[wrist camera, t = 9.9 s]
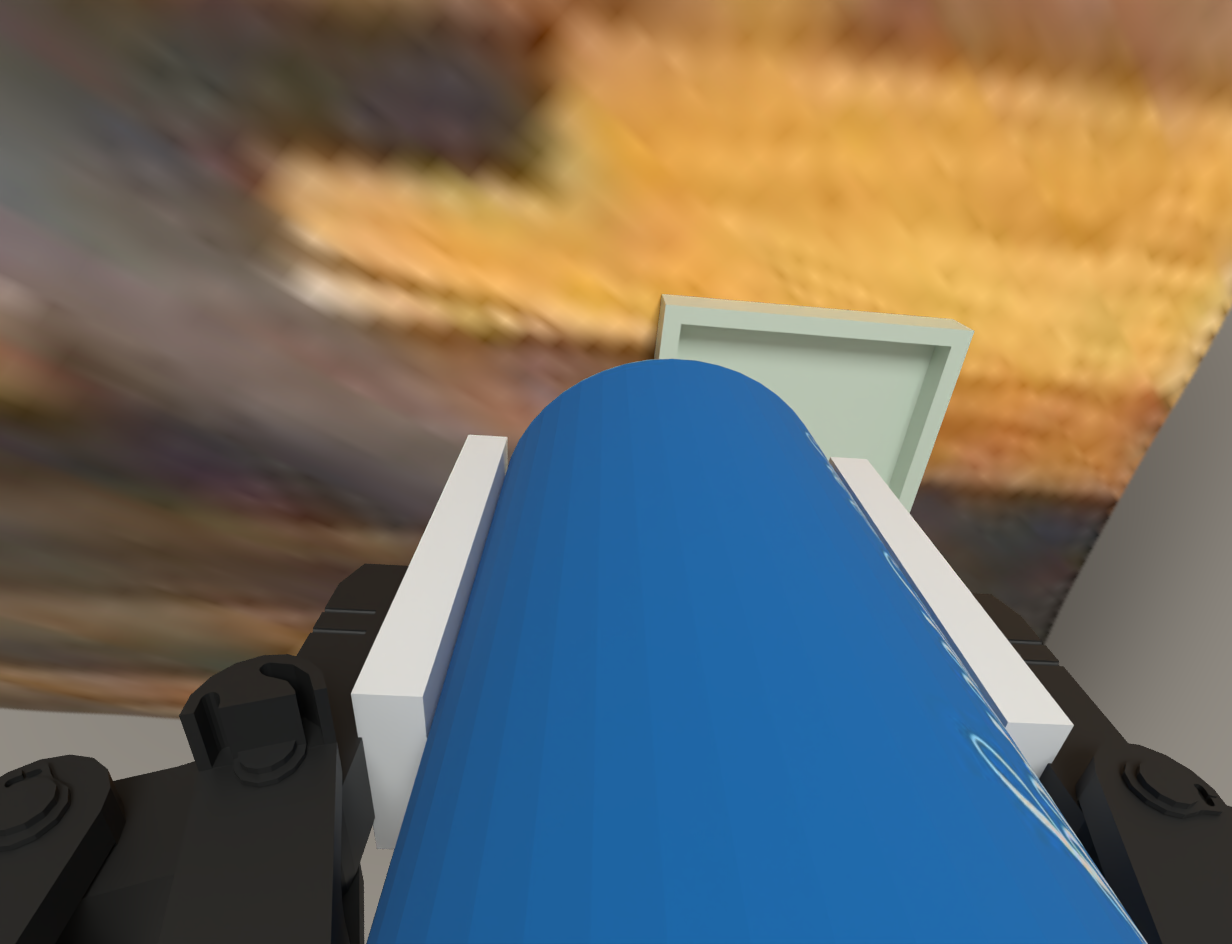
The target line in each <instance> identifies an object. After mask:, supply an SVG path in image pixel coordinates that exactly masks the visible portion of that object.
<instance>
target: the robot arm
mask: <svg viewBox="0 0 1232 944" xmlns="http://www.w3.org/2000/svg"><path fill="white" fill-rule="evenodd" d="M829 463H830V464H831V466H832V467H833V469H834V470H835V472H836V473H837V475H838V476H839V478H840V479H841V481H842V482H843V484H844V485H845V487H846V488H847V490H848V491H849V493H850V494H851V496H852V497H853V499H854V500H855V502H856V503H857V505H858V506H859V508H860V509H861V511H862V512H863V514H864V515H865V517H866V518H867V520H868V522H869V523H870V525H871V526H872V528H873V529H874V531H875V532H876V534H877V535H878V537H879V538H880V540H881V541H882V543H883V544H884V546H885V547H886V549H887V550H888V552H889V553H890V555H891V556H892V558H893V559H894V561H895V562H896V564H897V565H898V567H899V568H900V570H901V571H902V573H903V574H904V576H905V577H906V579H907V580H908V582H909V584H910V585H911V587H912V588H913V590H914V591H915V593H916V594H917V596H918V597H919V599H920V600H921V602H922V603H923V605H924V606H925V608H926V609H927V611H928V612H929V614H930V615H931V617H932V618H933V620H934V621H935V623H936V624H937V626H938V627H939V629H940V630H941V632H942V633H943V635H944V636H945V638H946V639H947V641H948V642H949V644H950V646H951V647H952V649H953V650H954V652H955V653H956V655H957V656H958V658H959V659H960V661H961V662H962V664H963V665H964V667H965V668H966V670H967V671H968V673H969V674H970V676H971V677H972V679H973V680H974V682H975V683H976V685H977V686H978V688H979V689H980V691H981V692H982V694H983V695H984V697H985V698H986V700H987V701H988V703H989V704H990V706H991V708H992V709H993V711H994V712H995V714H996V715H997V717H998V718H999V720H1000V721H1001V723H1002V724H1003V726H1004V727H1005V729H1006V730H1007V732H1008V733H1009V735H1010V736H1011V738H1012V739H1013V741H1014V742H1015V744H1016V745H1017V747H1018V748H1019V750H1020V751H1021V753H1022V754H1023V756H1024V757H1025V759H1026V760H1027V762H1028V763H1029V765H1030V766H1031V768H1032V770H1033V771H1034V773H1035V774H1036V776H1037V777H1038V779H1039V780H1040V782H1041V783H1042V785H1043V786H1044V788H1045V789H1046V791H1047V792H1048V794H1049V795H1050V797H1051V798H1052V800H1053V801H1054V803H1055V804H1056V806H1057V807H1058V809H1059V810H1060V812H1061V813H1062V815H1063V816H1064V818H1065V819H1066V821H1067V822H1068V824H1069V825H1070V827H1071V828H1072V830H1073V832H1074V833H1075V835H1076V836H1077V838H1078V839H1079V841H1080V842H1081V844H1082V845H1083V847H1084V848H1085V850H1086V851H1087V853H1088V854H1089V856H1090V857H1091V859H1092V860H1093V862H1094V863H1095V865H1096V866H1097V868H1098V869H1099V871H1100V872H1101V874H1102V875H1103V877H1104V878H1105V880H1106V881H1107V883H1108V884H1109V886H1110V887H1111V889H1112V890H1113V892H1114V894H1115V895H1116V897H1117V898H1118V900H1119V901H1120V903H1121V904H1122V906H1123V907H1124V909H1125V910H1126V912H1127V913H1128V915H1129V916H1130V918H1131V919H1132V921H1133V922H1134V924H1135V925H1136V927H1137V928H1138V930H1139V931H1140V933H1141V934H1142V936H1143V937H1144V939H1145V940H1146V942H1147V943H1148V944H1232V807H1230V806H1227V805H1226V804H1225V803H1224V802H1223V800H1222V799H1221V798H1220V796H1219V795H1218V794H1217V793H1216V791H1215V790H1214V789H1213V788H1212V787H1210V786H1209V785H1208V784H1207V783H1206V782H1205V781H1203V780H1202V779H1201V778H1200V777H1198V776H1197V775H1196V774H1195V773H1194V772H1193V771H1191V770H1190V769H1188V768H1187V767H1185V766H1183V765H1181V764H1180V763H1178V762H1176V761H1175V760H1173V759H1171V758H1170V757H1168V756H1166V755H1164V754H1162V753H1159V752H1156V751H1154V750H1151V749H1149V748H1146V747H1143V746H1140V745H1136V744H1129V743H1127V741H1126V740H1125V739H1124V738H1123V737H1122V735H1121V734H1120V733H1119V732H1118V731H1117V730H1116V729H1115V727H1114V726H1113V725H1112V724H1111V722H1110V721H1109V720H1108V719H1107V718H1106V716H1104V714H1103V713H1102V712H1101V711H1100V709H1099V708H1098V707H1097V706H1096V705H1095V704H1094V702H1093V701H1092V700H1091V699H1090V698H1089V696H1088V695H1087V694H1086V693H1085V692H1084V690H1083V689H1082V688H1081V687H1080V686H1079V684H1078V683H1077V682H1076V681H1075V680H1074V678H1073V677H1072V676H1071V675H1070V674H1069V673H1068V671H1067V670H1066V669H1065V668H1064V667H1063V666H1059V661H1058V659H1056V657H1055V656H1054V655H1053V654H1052V652H1051V651H1050V650H1049V649H1048V648H1047V646H1045V645H1042V644H1041V639H1040V638H1039V637H1038V636H1037V635H1036V633H1035V632H1034V631H1033V630H1032V629H1031V627H1030V626H1029V625H1028V624H1027V623H1026V622H1025V620H1024V619H1023V618H1022V617H1021V616H1020V615H1019V614H1017V613H1016V612H1015V611H1013V610H1012V609H1010V608H1009V607H1008V606H1006V605H1005V604H1004V603H1002V602H1001V601H999V600H998V599H997V598H995V597H994V596H992V595H991V594H974V593H971V592H970V591H969V590H968V588H967V587H966V586H965V585H964V583H963V582H962V581H961V579H960V578H959V577H958V576H957V574H956V573H955V572H954V570H953V569H952V568H951V566H950V565H949V564H948V563H947V561H946V560H945V559H944V557H943V556H942V555H941V554H940V552H939V551H938V550H937V548H936V547H935V546H934V545H933V543H932V542H931V541H930V539H929V538H928V537H927V536H926V534H925V533H924V532H923V530H922V529H921V528H920V527H919V525H918V524H917V523H916V521H915V520H914V519H913V518H912V516H911V515H910V514H909V512H908V511H907V510H906V509H905V507H904V506H903V505H902V503H901V502H900V501H899V500H898V498H897V497H896V496H895V494H894V493H893V492H892V491H891V489H890V488H889V487H888V485H887V484H886V483H885V482H884V480H883V479H882V478H881V476H880V475H879V474H878V473H877V471H876V470H875V469H874V467H873V466H872V465H871V464H870V462H869V461H868V460H867V459H858V458H841V457H830V459H829ZM507 469H508V445H507V437H497V436H481V435H468V437H467V440H466V442H465V444H464V446H463V448H462V451H461V453H460V455H459V457H458V459H457V462H456V464H455V466H454V468H453V470H452V473H451V475H450V477H449V479H448V481H447V484H446V486H445V488H444V490H443V492H442V494H441V497H440V499H439V501H438V503H437V505H436V508H435V510H434V512H433V514H432V516H431V519H430V521H429V523H428V525H427V527H426V530H425V532H424V534H423V536H422V538H421V541H420V543H419V545H418V547H417V549H416V552H415V554H414V556H413V558H412V560H411V563H410V565H409V566H399V565H380V564H364V565H362V566H361V567H360V568H359V569H357V570H356V571H355V572H353V573H352V574H351V575H350V576H348V577H347V578H346V579H344V580H343V581H342V582H341V583H339V585H338V587H337V588H336V590H335V592H334V593H333V595H332V597H331V598H330V600H329V602H328V604H327V605H326V607H325V612H322V614H321V615H320V617H319V619H318V620H317V622H316V624H315V626H314V627H313V633H310V634H309V636H308V637H307V639H306V641H305V642H304V644H303V646H302V648H301V649H300V651H299V653H298V654H297V656H292V655H289V654H286V655H264V656H260V657H256V658H253V659H249V660H246V661H242V662H239V663H236V664H234V665H232V666H230V667H228V668H226V669H225V670H223V671H221V672H219V673H217V674H215V675H213V676H212V677H210V678H209V679H208V680H207V681H206V682H205V683H204V684H202V685H201V686H200V687H199V688H198V689H197V690H196V691H195V692H194V693H192V694H191V695H190V697H189V699H188V701H187V703H186V704H185V706H184V708H183V710H182V712H181V713H180V715H179V717H180V720H181V722H182V725H183V728H184V731H185V734H186V736H187V739H188V742H189V745H190V748H191V751H192V754H193V757H194V760H195V761H194V762H191V763H188V764H185V765H181V766H179V767H174V768H170V769H165V770H161V771H156V772H152V773H147V774H143V775H138V776H134V777H129V778H125V779H120V780H116V781H113V780H112V778H111V776H110V773H109V771H108V769H106V768H105V767H104V766H103V765H102V764H100V763H99V762H98V761H97V760H95V759H94V758H90V757H83V756H76V755H65V756H59V757H53V758H48V759H42V760H38V761H36V762H33V763H31V764H28V765H25V766H23V767H21V768H18V769H15V770H13V771H10V772H8V773H6V774H4V775H3V776H1V777H0V944H364V881H363V876H362V871H361V865H360V860H361V858H362V855H363V852H364V848H365V846H366V843H367V840H368V837H369V834H370V831H371V828H372V825H373V828H374V834H375V840H376V846H377V849H395V846H396V842H397V839H398V835H399V832H400V829H401V825H402V822H403V819H404V815H405V812H406V808H407V805H408V802H409V798H410V795H411V792H412V788H413V785H414V782H415V778H416V775H417V771H418V768H419V765H420V761H421V758H422V755H423V751H424V748H425V744H426V741H427V738H428V734H429V731H430V728H431V724H432V721H433V717H434V714H435V711H436V707H437V704H438V701H439V697H440V694H441V691H442V687H443V684H444V680H445V677H446V674H447V670H448V667H449V664H450V660H451V657H452V653H453V650H454V647H455V643H456V640H457V637H458V633H459V630H460V626H461V623H462V620H463V616H464V613H465V610H466V606H467V603H468V600H469V596H470V593H471V589H472V586H473V583H474V579H475V576H476V573H477V569H478V566H479V562H480V559H481V556H482V552H483V549H484V546H485V542H486V539H487V536H488V532H489V529H490V525H491V522H492V519H493V515H494V512H495V509H496V505H497V502H498V498H499V495H500V492H501V488H502V485H503V482H504V478H505V475H506V472H507Z"/></svg>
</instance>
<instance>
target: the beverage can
mask: <svg viewBox="0 0 1232 944" xmlns="http://www.w3.org/2000/svg"><path fill="white" fill-rule="evenodd" d="M366 944H1148V943H1147V942H1146V940H1145V939H1144V937H1143V936H1142V934H1141V933H1140V931H1139V930H1138V928H1137V927H1136V925H1135V924H1134V922H1133V921H1132V919H1131V918H1130V916H1129V915H1128V913H1127V912H1126V910H1125V909H1124V907H1123V906H1122V904H1121V903H1120V901H1119V900H1118V898H1117V897H1116V895H1115V894H1114V892H1113V890H1112V889H1111V887H1110V886H1109V884H1108V883H1107V881H1106V880H1105V878H1104V877H1103V875H1102V874H1101V872H1100V871H1099V869H1098V868H1097V866H1096V865H1095V863H1094V862H1093V860H1092V859H1091V857H1090V856H1089V854H1088V853H1087V851H1086V850H1085V848H1084V847H1083V845H1082V844H1081V842H1080V841H1079V839H1078V838H1077V836H1076V835H1075V833H1074V832H1073V830H1072V828H1071V827H1070V825H1069V824H1068V822H1067V821H1066V819H1065V818H1064V816H1063V815H1062V813H1061V812H1060V810H1059V809H1058V807H1057V806H1056V804H1055V803H1054V801H1053V800H1052V798H1051V797H1050V795H1049V794H1048V792H1047V791H1046V789H1045V788H1044V786H1043V785H1042V783H1041V782H1040V780H1039V779H1038V777H1037V776H1036V774H1035V773H1034V771H1033V770H1032V768H1031V766H1030V765H1029V763H1028V762H1027V760H1026V759H1025V757H1024V756H1023V754H1022V753H1021V751H1020V750H1019V748H1018V747H1017V745H1016V744H1015V742H1014V741H1013V739H1012V738H1011V736H1010V735H1009V733H1008V732H1007V730H1006V729H1005V727H1004V726H1003V724H1002V723H1001V721H1000V720H999V718H998V717H997V715H996V714H995V712H994V711H993V709H992V708H991V706H990V704H989V703H988V701H987V700H986V698H985V697H984V695H983V694H982V692H981V691H980V689H979V688H978V686H977V685H976V683H975V682H974V680H973V679H972V677H971V676H970V674H969V673H968V671H967V670H966V668H965V667H964V665H963V664H962V662H961V661H960V659H959V658H958V656H957V655H956V653H955V652H954V650H953V649H952V647H951V646H950V644H949V642H948V641H947V639H946V638H945V636H944V635H943V633H942V632H941V630H940V629H939V627H938V626H937V624H936V623H935V621H934V620H933V618H932V617H931V615H930V614H929V612H928V611H927V609H926V608H925V606H924V605H923V603H922V602H921V600H920V599H919V597H918V596H917V594H916V593H915V591H914V590H913V588H912V587H911V585H910V584H909V582H908V580H907V579H906V577H905V576H904V574H903V573H902V571H901V570H900V568H899V567H898V565H897V564H896V562H895V561H894V559H893V558H892V556H891V555H890V553H889V552H888V550H887V549H886V547H885V546H884V544H883V543H882V541H881V540H880V538H879V537H878V535H877V534H876V532H875V531H874V529H873V528H872V526H871V525H870V523H869V522H868V520H867V518H866V517H865V515H864V514H863V512H862V511H861V509H860V508H859V506H858V505H857V503H856V502H855V500H854V499H853V497H852V496H851V494H850V493H849V491H848V490H847V488H846V487H845V485H844V484H843V482H842V481H841V479H840V478H839V476H838V475H837V473H836V472H835V470H834V469H833V467H832V466H831V464H830V463H829V461H828V460H827V458H826V456H825V455H824V453H823V452H822V450H821V449H820V447H819V446H818V444H817V443H816V441H815V440H814V438H813V437H812V435H811V434H810V432H809V431H808V429H807V428H806V426H805V425H804V424H803V422H802V421H801V420H800V418H799V417H798V416H797V415H796V413H795V412H794V411H793V409H792V408H790V407H789V406H788V405H787V404H786V403H785V402H784V401H783V400H782V399H781V398H780V397H779V396H778V395H777V394H775V393H774V392H772V391H771V390H769V389H768V388H767V387H765V386H764V385H762V384H761V383H759V382H757V381H755V380H753V379H751V378H750V377H748V376H746V375H744V374H742V373H740V372H737V371H734V370H731V369H728V368H725V367H722V366H720V365H716V364H711V363H706V362H701V361H696V360H685V359H653V360H644V361H639V362H633V363H628V364H623V365H620V366H617V367H614V368H611V369H607V370H604V371H602V372H600V373H597V374H595V375H593V376H591V377H589V378H586V379H584V380H582V381H581V382H579V383H577V384H576V385H574V386H573V387H571V388H569V389H568V390H566V391H565V392H563V393H562V394H561V395H559V396H558V397H557V398H556V399H555V400H553V401H552V402H551V403H550V404H549V405H547V406H546V407H545V408H544V409H543V410H542V411H541V413H540V414H539V415H538V416H537V417H536V418H535V419H534V420H533V421H532V422H531V424H530V425H529V427H528V428H527V430H526V431H525V433H524V434H523V435H522V437H521V438H520V440H519V442H518V444H517V446H516V448H515V450H514V452H513V454H512V456H511V459H510V462H509V465H508V469H507V472H506V475H505V478H504V482H503V485H502V488H501V492H500V495H499V498H498V502H497V505H496V509H495V512H494V515H493V519H492V522H491V525H490V529H489V532H488V536H487V539H486V542H485V546H484V549H483V552H482V556H481V559H480V562H479V566H478V569H477V573H476V576H475V579H474V583H473V586H472V589H471V593H470V596H469V600H468V603H467V606H466V610H465V613H464V616H463V620H462V623H461V626H460V630H459V633H458V637H457V640H456V643H455V647H454V650H453V653H452V657H451V660H450V664H449V667H448V670H447V674H446V677H445V680H444V684H443V687H442V691H441V694H440V697H439V701H438V704H437V707H436V711H435V714H434V717H433V721H432V724H431V728H430V731H429V734H428V738H427V741H426V744H425V748H424V751H423V755H422V758H421V761H420V765H419V768H418V771H417V775H416V778H415V782H414V785H413V788H412V792H411V795H410V798H409V802H408V805H407V808H406V812H405V815H404V819H403V822H402V825H401V829H400V832H399V835H398V839H397V842H396V846H395V849H394V852H393V856H392V859H391V862H390V866H389V869H388V873H387V876H386V879H385V883H384V886H383V889H382V893H381V896H380V899H379V903H378V906H377V910H376V913H375V917H374V920H373V923H372V927H371V930H370V933H369V937H368V940H367V943H366Z"/></svg>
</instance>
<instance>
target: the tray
mask: <svg viewBox="0 0 1232 944" xmlns="http://www.w3.org/2000/svg"><path fill="white" fill-rule="evenodd" d="M973 334H974V330H972V329H970V328H968V327H966V326H964V325H963V324H961V323H959V322H957V321H955V320H953V319H946V318H934V317H923V316H911V315H900V314H888V313H877V312H865V311H853V310H842V309H830V308H819V307H807V306H795V305H784V304H772V303H761V302H749V301H737V300H726V299H714V298H703V297H691V296H680V295H668V294H662V297H661V305H660V314H659V322H658V330H657V338H656V347H655V355H654V359H685V360H696V361H701V362H706V363H711V364H716V365H720V366H722V367H725V368H728V369H731V370H734V371H737V372H740V373H742V374H744V375H746V376H748V377H750V378H751V379H753V380H755V381H757V382H759V383H761V384H762V385H764V386H765V387H767V388H768V389H769V390H771V391H772V392H774V393H775V394H777V395H778V396H779V397H780V398H781V399H782V400H783V401H784V402H785V403H786V404H787V405H788V406H789V407H790V408H792V409H793V411H794V412H795V413H796V415H797V416H798V417H799V418H800V420H801V421H802V422H803V424H804V425H805V426H806V428H807V429H808V431H809V432H810V434H811V435H812V437H813V438H814V440H815V441H816V443H817V444H818V446H819V447H820V449H821V450H822V452H823V453H824V455H825V456H826V458H827V460H828V461H829V459H830V457H841V458H858V459H867V460H868V461H869V462H870V464H871V465H872V466H873V467H874V469H875V470H876V471H877V473H878V474H879V475H880V476H881V478H882V479H883V480H884V482H885V483H886V484H887V485H888V487H889V488H890V489H891V491H892V492H893V493H894V494H895V496H896V497H897V498H898V500H899V501H900V502H901V503H902V505H903V506H904V507H905V509H906V510H907V511H908V512H909V513H910V510H911V508H912V505H913V502H914V499H915V496H916V494H917V491H918V488H919V485H920V482H921V480H922V477H923V474H924V471H925V468H926V466H927V463H928V460H929V457H930V454H931V451H932V449H933V446H934V443H935V440H936V437H937V435H938V432H939V429H940V426H941V423H942V421H943V418H944V415H945V412H946V409H947V407H948V404H949V401H950V398H951V395H952V393H953V390H954V387H955V384H956V381H957V378H958V376H959V373H960V370H961V367H962V364H963V362H964V359H965V356H966V353H967V350H968V348H969V345H970V342H971V339H972V336H973Z"/></svg>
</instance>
